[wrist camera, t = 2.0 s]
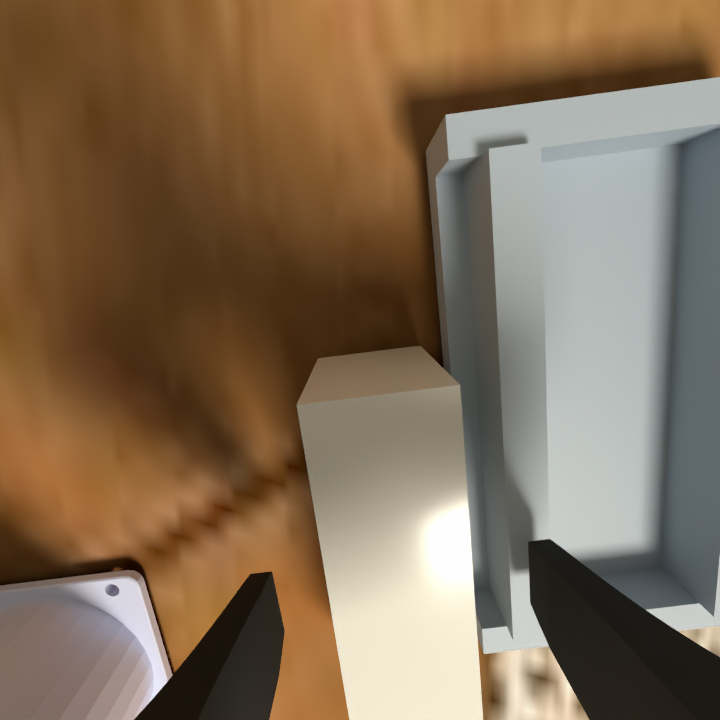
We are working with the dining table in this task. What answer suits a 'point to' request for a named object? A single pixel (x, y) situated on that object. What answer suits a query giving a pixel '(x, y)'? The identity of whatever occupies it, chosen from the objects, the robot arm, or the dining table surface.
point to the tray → (586, 343)
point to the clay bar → (394, 532)
